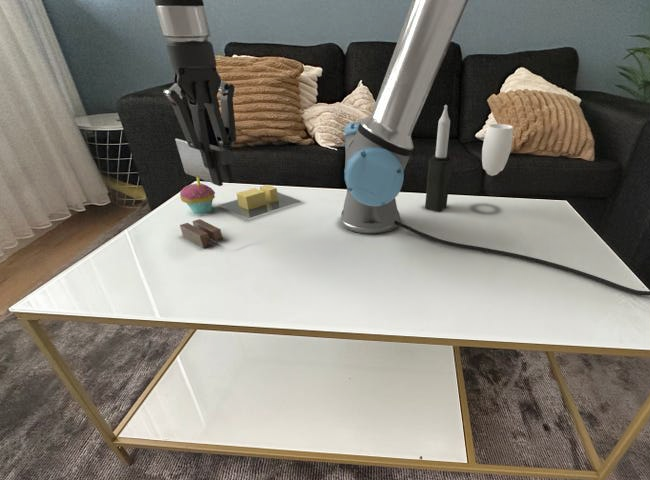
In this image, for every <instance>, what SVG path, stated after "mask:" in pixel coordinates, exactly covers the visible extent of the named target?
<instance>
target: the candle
mask: <svg viewBox="0 0 650 480" xmlns="http://www.w3.org/2000/svg"><path fill="white" fill-rule="evenodd" d="M448 111H449V110H448V105H447V104H445V105H444V106H443V111H442V114H441V116H440V118H439V120H438V123H437V124H438V125H437V134H436V143H435V144H436V145H435V154H434V155H432V156H431V157H430V158H429V159H428V168H427V170H428V171H427V179H426V180H427V181H426V192H425V205H424V208H425V209H426V210H430V211H434V212H442V211H443V210H445V209H447V206H448V197H449V189H450V181H451V172H452V164H453V163H452V162H453V159H452V158H451V156H450V155H448V146H449V137H450V128H451V119H450V117H449V113H448Z"/></svg>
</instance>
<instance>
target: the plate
mask: <svg viewBox="0 0 650 480" xmlns="http://www.w3.org/2000/svg"><path fill="white" fill-rule="evenodd" d="M277 194H278V201H277V202H273V203H270V202H268V201H266V203H267V205H264V206H261V207H257V208H254V209H251V210H247V209H245V208H242V207H240V206H239V204H238V199H235V200H231V201H227V202H224V203H222V204H218V207H220V208H223V209H226V210H228V211H230V212H232V213H234V214H237V215H239V216H241V217H244V218H246V219H251V218H255V217H257V216H260V215H263V214H266V213H269V212H273V211H275V210H279V209H283V208H285V207H288V206H291V205H295V204H298V203H301V202H302V200H300V199H297V198H294V197H292V196H289V195H286V194H283V193H281V192H278V191H277Z"/></svg>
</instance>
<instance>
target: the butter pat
mask: <svg viewBox="0 0 650 480" xmlns="http://www.w3.org/2000/svg"><path fill="white" fill-rule="evenodd" d="M259 190H261V191H264V192H265V197H266V201H268V202H270V203H273V202H277V201H278V194H277V192H278V189H277V187H274V186H271V185H269V184H264V185H261V186H259Z"/></svg>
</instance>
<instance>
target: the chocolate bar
mask: <svg viewBox="0 0 650 480" xmlns="http://www.w3.org/2000/svg"><path fill="white" fill-rule="evenodd" d="M179 228H180V232H181V234H182V237H183V238H184V239H185V240H187V241H189V242H191V243H193V244H195V245H197V246H198V247H200V248H202V249H206V248H208V247H211V246H212V244H211V243H213V244H215V245H217V244H218V242H219V241H222V240H223V234H222V231H221V228H219V227H217V226H215V225H213V224H211V223H210V222H209V223H208V222H207V221H205V220H203V219H201V218H198V219H196V220H192V224H191V223H189V222H185V223H182V224H179Z"/></svg>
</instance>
